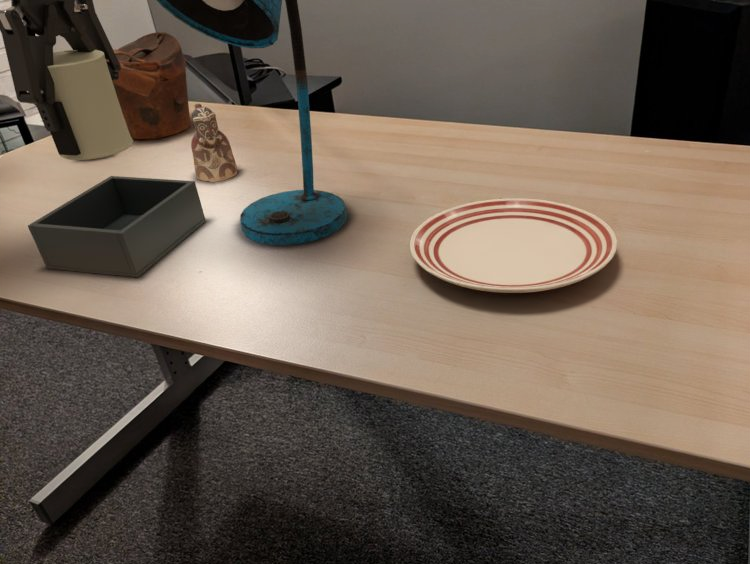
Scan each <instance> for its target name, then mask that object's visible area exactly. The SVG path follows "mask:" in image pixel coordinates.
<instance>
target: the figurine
mask: <svg viewBox="0 0 750 564" xmlns="http://www.w3.org/2000/svg"><path fill="white" fill-rule="evenodd" d="M191 121H192V123H193V126H194V128H195V131H196V132H195V133H194V134H193V136H192V139H191V144H190V148H191V152H192V159H193V166H194V172H195V175H196V178H197V179H198V180H199V181H203V182H210V183H216V182H222V181H226V180H229V179H231V178H233V177H235V176H236V175H238V166H237V163H236V159H235V156H234V153H233V150H232V147H231V143H230V140H229V139H228V137H227V136H226V134H224V132H222V131H221V130H219V126H218V125H219V124H218V121H217V115H216V113H215V112H213V111H212V109H211V108H209V107H206V106H202V104H201V103H195V105H194V110H193V111H192V113H191Z"/></svg>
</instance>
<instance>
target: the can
mask: <svg viewBox="0 0 750 564" xmlns="http://www.w3.org/2000/svg"><path fill="white" fill-rule="evenodd" d="M77 51H78V50H73V49H69V50H68V49H67V50H62V51H53V63H54V65H52V66H48V69H49V71H50V73H51V76H52V78H53V81H54V90H55V102H62V104H63V107H64V110H65V112H66V115H67V118H68V120H69V123H70V125H71V128H72V131H73V133H74V136H75V139H76V141H77V144H78V147H79V149H80V152H81V154H79V155H77V156H75V155H59V156H60V158H63V159H65V160H69V161H90V160H97V159H102V158H107V157H111V156H114V155H118V154H120V153H123V152H125V151H126V150H128V149H130V148H131V147H132V146H133V144H134V138H131V136H130V133H129V131H128V128H127V125H126V122H125V119H124V116H123V113H122V110H121V107H120V104H119V101H118V98H117V95H116V92H115V89H114V85H113V82H112V79H111V76H110V73H109V70H108V66H107V63H106V59H105V55H104V53H103V52H102V51H99V50H94V51H92V52H77ZM41 93H43V90H41Z"/></svg>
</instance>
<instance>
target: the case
mask: <svg viewBox="0 0 750 564" xmlns="http://www.w3.org/2000/svg"><path fill="white" fill-rule="evenodd" d="M113 50H114V53H115V55H116V57H117V59H118V61H119V63H120V66H121V70H120V71H116V72H118V73H119V79H118V80H113V83H114V86H115V89H116V92H117V95H118V98H119V104H120V107H121V110H122V113H123V116H124V119H125V122H126V125H127V128H128V131H129V133H130V136H131V138H132V139H133V140H150V139H151V140H153V139H160V138H165V137H169V136H173V135H176V134H179V133H181V132H183V131H184V130H186V129H188V128H189V126H190V125H191V116H190V108H189V107H190V106H189V95H188V82H187V68H186V67H187V61H186V58H185V56H184V52H183V50H182V45H181V44H180V41H179V40H178V39H177V38H176V37H175V36H173V35H172V34H170V33H167V32H163V31H155V32H151V33H148V34H145V35H143V36H141V37H139V38H137V39H135V40H134V41H132V42H129V43H126V44H125V45H123V46H121V47H119V48H117V49H113ZM106 61H109V60H108V59H106Z"/></svg>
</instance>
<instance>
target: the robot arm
mask: <svg viewBox="0 0 750 564" xmlns="http://www.w3.org/2000/svg"><path fill="white" fill-rule="evenodd" d="M10 3H11V4H10V5H11V6H10V7H7V8H6V9H0V33H1V37H2V41H3V45H4V49H5V53H6V58H7V62H8V63H7V64H8V67H9V70H10V76H11V79H12V83H13V87H14V91H15V92H14V93H15V96H16V100H17V101H18V102H19V103H22V104H29V105H34V106H35V107H36V109H37V111H38V113H39V116H40V119H41V122H42V123H43V126H44V128H45V130H46V131H47V132H49V133H50V136H51V138H52V140H53V143H54V145H55V148H56V151H57V153H58V155H59V156H60V155H75V156H77V155H79V154H81V152H80V149H79V147H78V144H77V141H76V139H75V136H74V133H73V131H72V128H71V125H70V123H69V120H68V118H67V115H66V112H65V110H64V107H63V104H62V102H55V90H54V81H53V78H52V76H51V73H50V71H49V69H48V66H52V65H54V63H53V53H54V46H55V45H56V44H57V37H59V36H60V37H61V38H63V39H64V40H65V41H66V42H67V44H68V46H70V48H71V50H78V51H77V52H92V51H94V50H99V51H102V52H103V53H104V55H105V59H108V60H109V61H106V63H107V66H108V70H109V73H110V76H111V79H112V82H113V80H118V79H119V73H118V72H116V71H120V70H121V66H120V63H119V61H118V59H117V57H116V55H115V53H114V50H115V49H114V48H113V47H112V44H111V42H110V40H109V38H108V35H107V33H106V32H105V29H104V27H103V25H102V23H101V21H100V19H99V16H98V14H97V13H96V8H95V5H94V0H11V1H10ZM113 85H114V83H113ZM114 89H115V86H114ZM41 90H43V93H41ZM115 92H116V89H115ZM116 95H117V92H116ZM117 98H118V95H117ZM118 101H119V98H118Z"/></svg>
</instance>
